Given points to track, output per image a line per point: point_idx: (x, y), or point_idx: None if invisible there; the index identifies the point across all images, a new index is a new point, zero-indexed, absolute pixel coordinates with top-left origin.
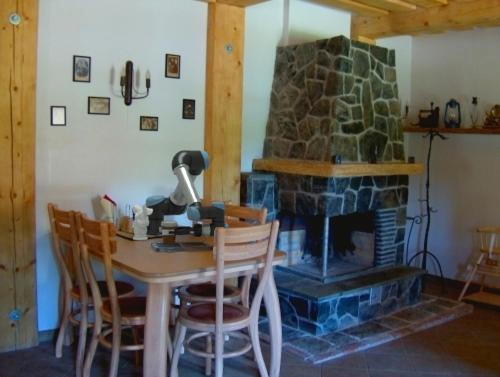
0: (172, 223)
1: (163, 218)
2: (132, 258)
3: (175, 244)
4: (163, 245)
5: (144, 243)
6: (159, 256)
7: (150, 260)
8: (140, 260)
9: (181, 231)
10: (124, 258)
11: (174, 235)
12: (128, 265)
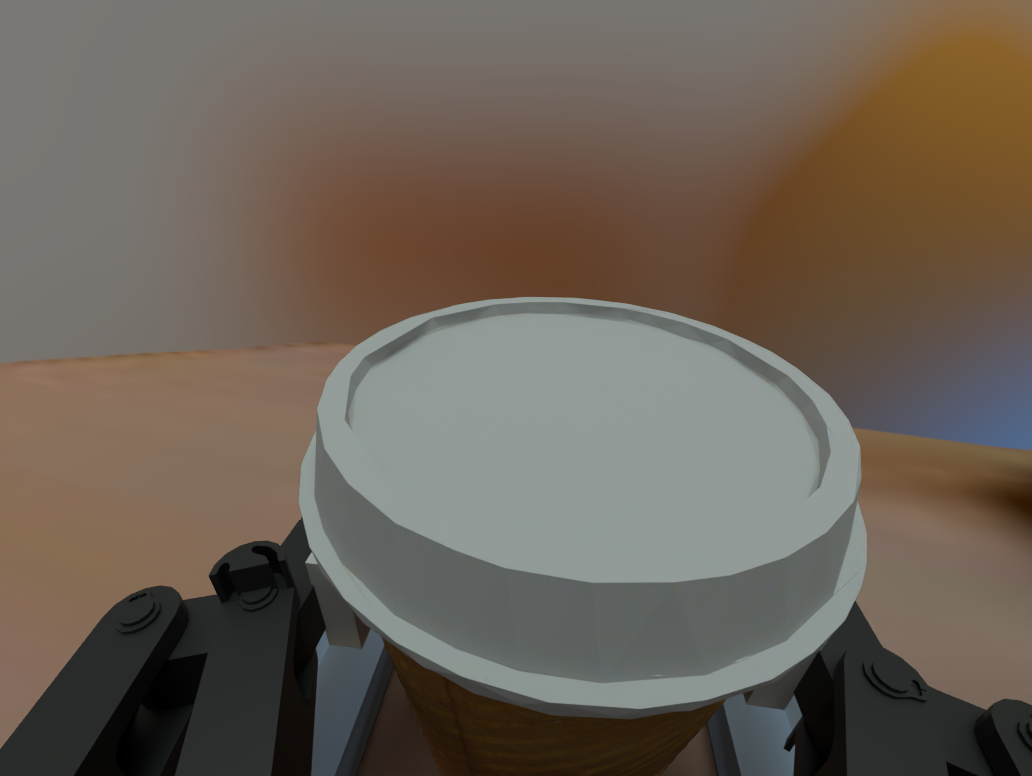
0: (327, 389)
1: None
2: (299, 386)
3: None
4: (712, 715)
5: (880, 557)
6: (201, 517)
7: (149, 438)
8: (211, 402)
9: (11, 772)
10: (329, 366)
11: (410, 704)
12: (166, 353)
